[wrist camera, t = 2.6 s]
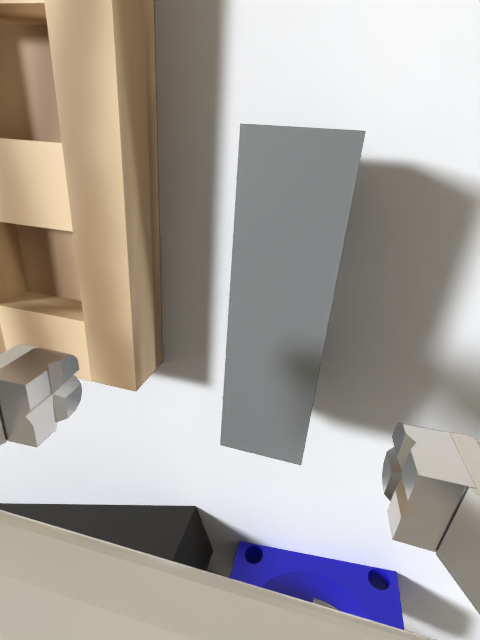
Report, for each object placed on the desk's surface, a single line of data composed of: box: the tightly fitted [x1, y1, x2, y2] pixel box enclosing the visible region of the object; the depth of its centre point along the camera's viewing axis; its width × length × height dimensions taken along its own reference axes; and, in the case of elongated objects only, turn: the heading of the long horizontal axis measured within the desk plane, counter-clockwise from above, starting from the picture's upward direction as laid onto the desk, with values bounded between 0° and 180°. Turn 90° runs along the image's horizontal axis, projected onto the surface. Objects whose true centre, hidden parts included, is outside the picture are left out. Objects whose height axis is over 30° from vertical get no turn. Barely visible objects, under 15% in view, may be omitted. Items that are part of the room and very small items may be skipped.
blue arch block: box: [230, 541, 404, 630], centre depth 26 cm, size 12×4×6 cm, turn 95°
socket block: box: [0, 0, 162, 391], centre depth 19 cm, size 12×22×4 cm, turn 176°
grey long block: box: [220, 124, 365, 465], centre depth 17 cm, size 4×14×6 cm, turn 176°
